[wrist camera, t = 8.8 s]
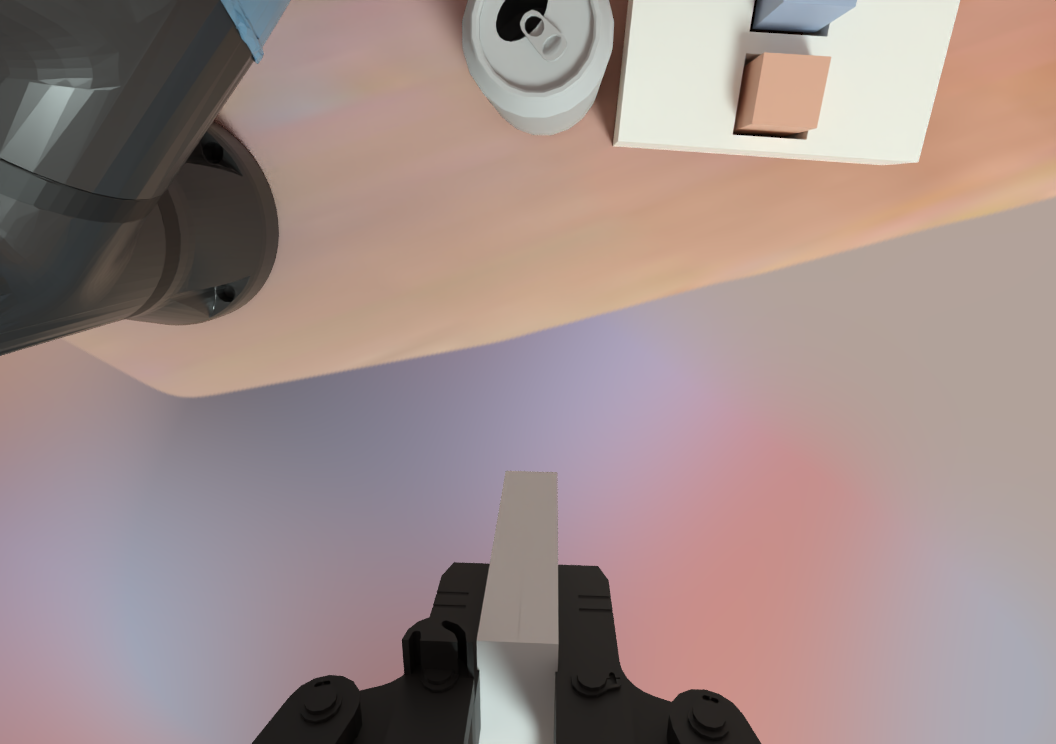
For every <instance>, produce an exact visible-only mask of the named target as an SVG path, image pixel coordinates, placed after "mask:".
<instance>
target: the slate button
mask: <svg viewBox="0 0 1056 744" xmlns="http://www.w3.org/2000/svg"><path fill="white" fill-rule="evenodd" d="M856 3H857V0H757V4H756V10H755V16H754V22H753V28H752V29H759V30H775V31H791V32H807V33H815V32H817V31H818V30H820V29H821V28H823V27H824V26H826V25H828V24H829V23H831V22H832V21H834V20H835V19H837V18H839V17H840V16H842V15H843V14H845V13H846V12H848V11H850V10H851V9H853V8H854V7H856Z"/></svg>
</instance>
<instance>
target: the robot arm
mask: <svg viewBox="0 0 1056 744" xmlns="http://www.w3.org/2000/svg"><path fill="white" fill-rule="evenodd" d="M289 3H290V0H0V356H1V355H5V354H8V353H11V352H15V351H18V350H22V349H25V348H28V347H32V346H35V345H38V344H42V343H45V342H49V341H52V340H55V339H59V338H62V337H66V336H69V335H72V334H76V333H79V332H83V331H86V330H89V329H93V328H96V327H100V326H103V325H106V324H110V323H113V322H116V321H120V320H123V319H127V320H135V321H142V322H150V323H157V324H165V325H190V324H197V323H203V322H206V321H210V320H212V319H215V318H218V317H221V316H224V315H226V314H229V313H231V312H233V311H235V310H237V309H239V308H240V307H242V306H243V305H245V304H246V303H247V302H249V301H250V300H251V299H252V298H253V297H254V296H255V295H256V294H257V293H258V292H259V290H260V289H261V288H262V286H263V285H264V284H265V282H266V280H267V278H268V277H269V274H270V272H271V270H272V267H273V265H274V261H275V258H276V253H277V248H278V237H279V229H278V217H277V211H276V206H275V202H274V199H273V196H272V193H271V190H270V187H269V185H268V183H267V181H266V178H265V176H264V175H263V173H262V171H261V169H260V168H259V166H258V164H257V163H256V161H255V160H254V159H253V157H252V156H251V154H250V153H249V152H248V151H247V150H246V148H245V147H244V146H243V145H242V144H241V143H240V142H239V141H238V140H237V139H236V138H235V137H234V136H233V135H231V134H230V133H229V132H228V131H227V130H225V129H224V128H222V127H221V126H220V125H218V124H217V123H215V122H213V121H214V119H215V118H216V116H217V115H218V113H219V112H220V110H221V109H222V107H223V106H224V104H225V103H226V102H227V100H228V99H229V97H230V96H231V94H232V93H233V91H234V90H235V88H236V87H237V85H238V84H239V82H240V81H241V79H242V78H243V76H244V75H245V73H246V72H247V70H248V69H249V67H250V66H251V65H252V63H253V62H254V61H255V62H256V63H257V64H258V63H259V62H260V61H261V59H262V58H263V55H264V53H263V49H262V47H263V46H264V44H265V42H266V41H267V39H268V37H269V36H270V34H271V32H272V31H273V29H274V27H275V26H276V24H277V22H278V21H279V19H280V17H281V16H282V14H283V12H284V11H285V9H286V8H287V6H288V4H289ZM557 508H558V507H557V473H556V472H525V471H506V473H505V479H504V484H503V490H502V496H501V502H500V508H499V513H498V519H497V525H496V532H495V537H494V542H493V548H492V554H491V560H490V564H483V563H455V562H454V563H453V564H452V565H451V566H450V567H449V568H448V570H447V571H446V572H445V573H444V574H443V575H442V577H441V580H440V584H439V587H438V590H437V595H436V598H435V601H434V604H433V608H432V611H431V614H430V617H429V618H426V619H424V620H421V621H419V622H417V623H416V624H415V625H413V626H412V627H411V628H409V629H408V630H407V632H406V634H405V635H404V637H403V639H402V648H403V662H404V675H403V676H402V677H400V678H398V679H396V680H394V681H393V682H391V683H388V684H385V685H382V686H378V687H374V688H369V689H365V690H361V691H359V689H358V688H357V686H356V685H355V684H354V682H353V681H351V680H349V679H347V678H345V677H343V676H334V675H328V676H324V677H319V678H315V679H313V680H311V681H310V682H307V683H306V684H304V685H302V686H301V687H299V688H298V689H297V690H296V691H295V692H294V693H293V694H292V695H291V696H290V697H289V698H288V699H287V700H286V702H285V703H284V704H283V705H282V707H281V708H280V709H279V710H278V712H277V713H276V714H275V715H274V717H273V718H272V719H271V721H269V723H268V724H267V725H266V726H265V728H264V729H263V730H262V732H261V733H260V734H259V735H258V736H257V738H256V739H255V740H254V741H253V742H252V744H761V743H760V741H759V739H758V738H757V736H756V734H755V733H754V731H753V730H752V728H751V726H750V725H749V723H748V722H747V720H746V719H745V717H744V715H743V714H742V713H741V712H740V711H739V709H738V708H737V707H736V706H735V705H734V704H733V703H732V702H731V701H729V700H728V699H726V698H724V697H723V696H721V695H720V694H717V693H714V692H711V691H708V690H693V689H691V690H688V691H686V692H683V693H680V694H679V695H678V696H677V697H676V698H675V699H674V701H672V702H670V701H667V700H664V699H661V698H658V697H655V696H652V695H650V694H648V693H645V692H643V691H642V690H640V689H639V688H637V687H636V686H634V685H633V684H632V683H631V682H630V681H629V680H628V679H627V677H626V676H625V674H624V672H623V671H622V669H621V666H620V662H619V655H618V648H617V640H616V633H615V626H614V618H613V613H612V604H611V598H610V597H611V596H610V589H609V582H608V579H607V578H606V576H605V575H604V574H603V572H602V571H601V570H600V568H599V567H598V566H581V565H558V511H557Z"/></svg>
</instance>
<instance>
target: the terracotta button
mask: <svg viewBox="0 0 1056 744" xmlns="http://www.w3.org/2000/svg"><path fill="white" fill-rule="evenodd" d="M830 61H831V57H830V56H814V55H799V54H783V53H767V52H764V53H763V54H761V55H760V56H758V57H757V58H756V59H754V60H753V61H751V62H750V63H748V64H747V65H746V66H744V68H743V74H742V80H741V86H740V92H739V99H738V105H737V111H736V117H735V123H734V129H733V133H740V134H755V135H769V136H788V135H792V134H796V133H800V132H804V131H808V130H812V129H816V128H817V125H818V120H819V115H820V110H821V105H822V100H823V96H824V91H825V86H826V81H827V76H828V71H829V66H830Z"/></svg>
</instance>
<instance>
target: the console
mask: <svg viewBox="0 0 1056 744" xmlns="http://www.w3.org/2000/svg"><path fill="white" fill-rule="evenodd" d="M754 1H755V0H628V8H627V18H626V27H625V36H624V46H623V55H622V64H621V74H620V83H619V92H618V102H617V111H616V120H615V130H614V139H613V146H618V147H632V148H646V149H661V150H675V151H689V152H703V153H717V154H732V155H746V156H760V157H774V158H788V159H802V160H817V161H831V162H845V163H859V164H873V165H891V164H902V163H914V162H918V161H919V157H920V154H921V150H922V146H923V142H924V138H925V134H926V130H927V127H928V123H929V119H930V115H931V111H932V107H933V103H934V99H935V96H936V92H937V88H938V84H939V80H940V76H941V72H942V68H943V65H944V61H945V57H946V53H947V49H948V45H949V41H950V37H951V34H952V30H953V26H954V22H955V18H956V14H957V10H958V7H959V3H960V0H857V3H856V7H854V8H853V9H851V10H850V11H848V12H846V13H845V14H843V15H842V16H840V17H839V18H837V19H835V20H834V21H832V22H831V23H829V24H828V25H826V26H824V27H823V28H821V29H820V30H818V31H817V32H815V33H807V32H804V33H803V35H793V34H777V33H761V32H750V26H751V20H752V13H753V7H754ZM764 52H767V53H783V54H799V55H814V56H830V57H831V61H830V66H829V71H828V76H827V81H826V86H825V91H824V96H823V100H822V105H821V110H820V115H819V120H818V125H817V128H816V129H812V130H808V131H804V132H800V133H796V134H792V135H788V136H784V138H773V137H758V136H744V135H733V129H734V123H735V117H736V111H737V105H738V99H739V92H740V86H741V80H742V74H743V68H744V66H746V65H747V64H748V63H750V62H751V61H753V60H754V59H756V58H757V57H758V56H760V55H761V54H763V53H764Z"/></svg>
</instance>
